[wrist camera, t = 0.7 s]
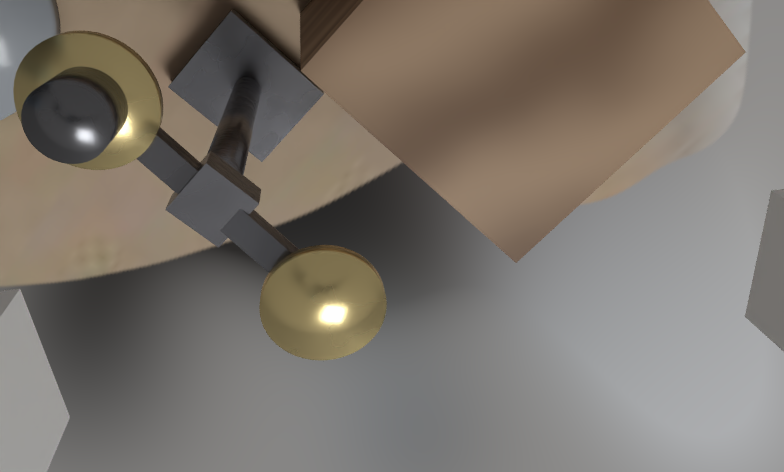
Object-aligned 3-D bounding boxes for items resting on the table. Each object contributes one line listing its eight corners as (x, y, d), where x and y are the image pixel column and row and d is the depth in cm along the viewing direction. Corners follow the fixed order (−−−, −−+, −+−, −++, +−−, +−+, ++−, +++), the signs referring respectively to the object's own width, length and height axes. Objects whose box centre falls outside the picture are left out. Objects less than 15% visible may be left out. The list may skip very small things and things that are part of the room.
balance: (112, 35, 33) (-58, 143, 17) (173, -45, 32) (50, -5, 16) (311, 194, 38) (319, 391, 22) (370, 131, 37) (423, 292, 21)
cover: (300, 13, 33) (300, 71, 21) (451, -162, 31) (552, -213, 19) (445, 149, 38) (515, 263, 25) (589, 4, 35) (745, 52, 23)
